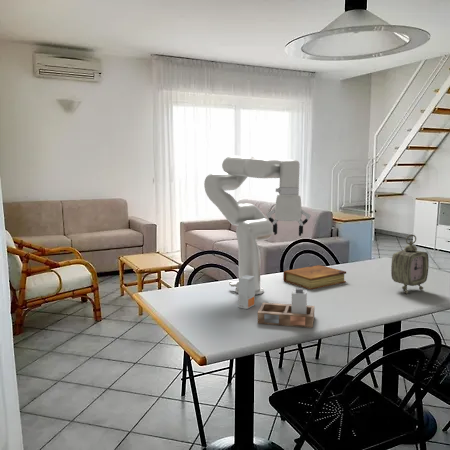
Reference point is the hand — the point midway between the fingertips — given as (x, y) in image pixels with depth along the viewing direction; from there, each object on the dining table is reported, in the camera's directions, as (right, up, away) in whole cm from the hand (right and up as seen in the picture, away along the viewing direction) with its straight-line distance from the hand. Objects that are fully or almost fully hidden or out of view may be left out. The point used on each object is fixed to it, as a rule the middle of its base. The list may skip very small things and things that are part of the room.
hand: (287, 234), depth 175 cm
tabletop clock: (+56, -25, +20) cm, 65 cm away
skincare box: (-16, -29, -1) cm, 33 cm away
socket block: (-3, -30, -17) cm, 35 cm away
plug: (+2, -30, -18) cm, 35 cm away
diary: (+18, -24, +37) cm, 47 cm away
